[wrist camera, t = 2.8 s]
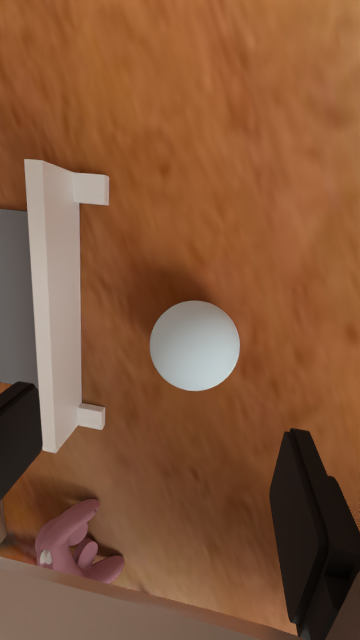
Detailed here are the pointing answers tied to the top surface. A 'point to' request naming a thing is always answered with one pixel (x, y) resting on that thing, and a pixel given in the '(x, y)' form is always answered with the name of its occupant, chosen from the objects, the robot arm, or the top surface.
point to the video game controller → (71, 532)
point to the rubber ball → (194, 345)
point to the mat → (16, 301)
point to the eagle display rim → (2, 522)
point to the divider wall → (59, 294)
